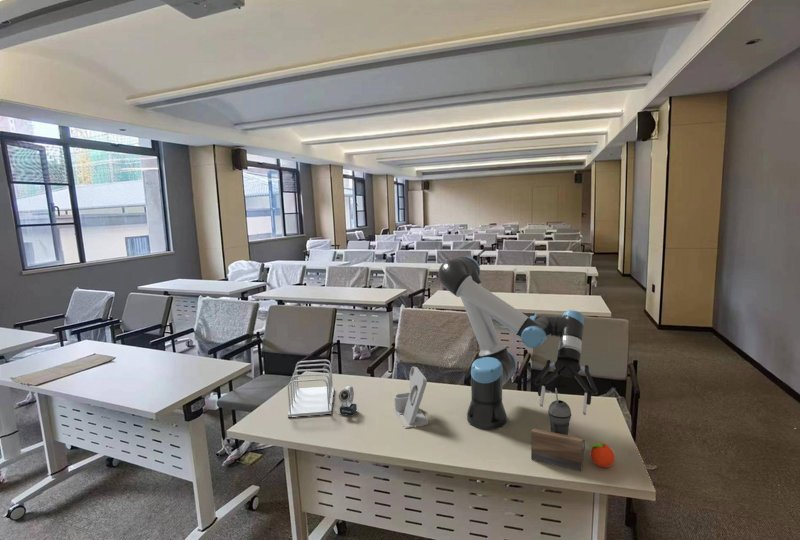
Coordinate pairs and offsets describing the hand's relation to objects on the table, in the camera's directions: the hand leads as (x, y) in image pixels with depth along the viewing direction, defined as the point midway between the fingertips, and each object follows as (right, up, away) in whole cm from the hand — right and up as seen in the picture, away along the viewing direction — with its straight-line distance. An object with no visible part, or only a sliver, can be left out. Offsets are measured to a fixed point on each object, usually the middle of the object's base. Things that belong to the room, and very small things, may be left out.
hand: (562, 409), depth 142 cm
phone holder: (-50, -12, +29) cm, 59 cm away
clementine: (+10, -16, -7) cm, 20 cm away
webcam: (-75, -13, +34) cm, 83 cm away
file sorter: (-92, -12, +44) cm, 102 cm away
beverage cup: (-1, -12, 0) cm, 12 cm away
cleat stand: (-1, -15, +1) cm, 15 cm away
